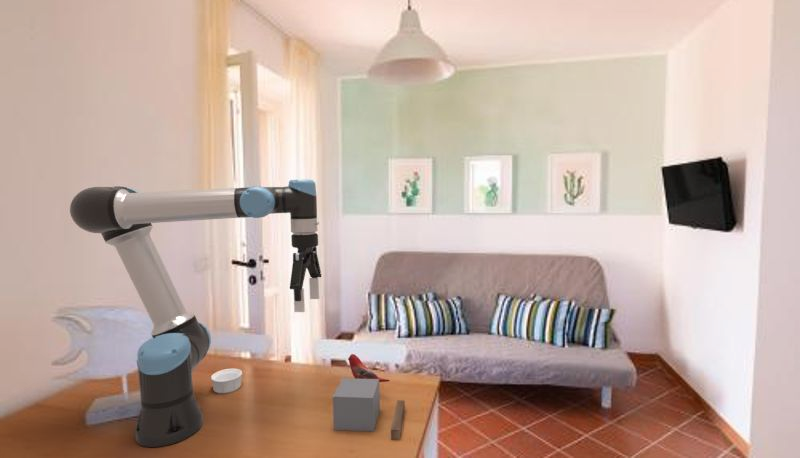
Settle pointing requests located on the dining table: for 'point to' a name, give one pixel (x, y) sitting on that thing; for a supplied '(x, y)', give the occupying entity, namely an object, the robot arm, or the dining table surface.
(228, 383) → the ramekin
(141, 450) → the dining table surface
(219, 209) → the robot arm
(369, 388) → the gray storage cube
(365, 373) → the decorative bird figurine
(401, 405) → the strip
